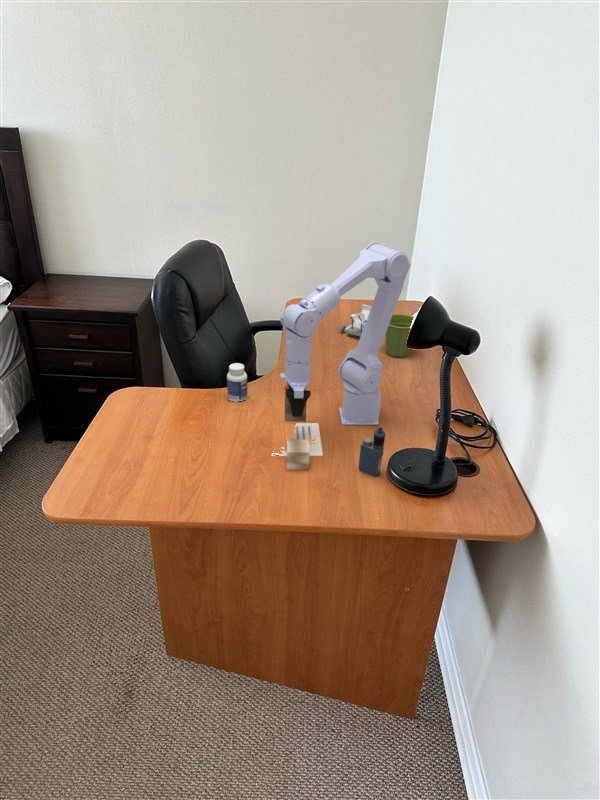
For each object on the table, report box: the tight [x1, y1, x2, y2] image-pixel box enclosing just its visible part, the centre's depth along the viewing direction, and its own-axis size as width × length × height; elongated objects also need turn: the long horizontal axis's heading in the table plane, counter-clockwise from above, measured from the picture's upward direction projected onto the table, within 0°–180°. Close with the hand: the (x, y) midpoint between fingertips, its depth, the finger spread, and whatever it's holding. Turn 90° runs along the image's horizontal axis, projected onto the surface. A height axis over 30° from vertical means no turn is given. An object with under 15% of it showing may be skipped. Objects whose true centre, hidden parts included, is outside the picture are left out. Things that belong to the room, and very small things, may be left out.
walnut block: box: [284, 391, 308, 423], centre depth 132 cm, size 5×5×5 cm
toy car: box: [339, 303, 372, 337], centre depth 193 cm, size 18×10×12 cm
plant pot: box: [385, 313, 415, 358], centre depth 178 cm, size 12×12×11 cm
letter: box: [271, 422, 324, 457], centre depth 136 cm, size 12×14×1 cm
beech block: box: [286, 439, 310, 471], centre depth 127 cm, size 5×5×5 cm
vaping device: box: [358, 427, 386, 478], centre depth 123 cm, size 3×5×12 cm, turn 58°
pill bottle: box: [226, 362, 248, 403], centre depth 150 cm, size 5×5×10 cm
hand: (296, 409), depth 132 cm, fingers closed on walnut block, 5 cm apart
